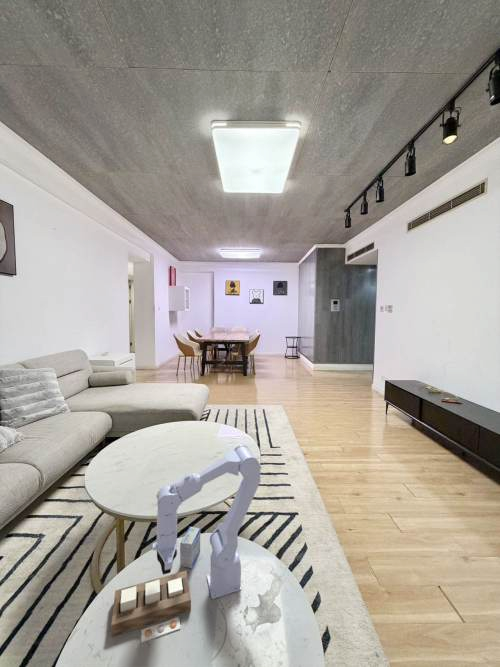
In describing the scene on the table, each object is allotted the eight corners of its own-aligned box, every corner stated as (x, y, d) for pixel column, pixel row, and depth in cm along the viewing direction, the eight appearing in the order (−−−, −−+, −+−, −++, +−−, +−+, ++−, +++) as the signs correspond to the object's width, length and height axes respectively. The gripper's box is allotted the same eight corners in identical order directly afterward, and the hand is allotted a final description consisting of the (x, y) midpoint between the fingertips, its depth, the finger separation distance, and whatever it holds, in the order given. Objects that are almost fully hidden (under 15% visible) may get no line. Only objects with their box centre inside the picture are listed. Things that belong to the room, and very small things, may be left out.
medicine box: (191, 569, 96) (192, 545, 96) (179, 566, 97) (179, 542, 97) (200, 550, 104) (200, 528, 103) (189, 548, 105) (189, 525, 104)
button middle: (159, 589, 86) (159, 579, 86) (160, 601, 83) (160, 591, 82) (145, 593, 85) (145, 583, 85) (145, 606, 81) (145, 596, 81)
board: (186, 580, 92) (186, 570, 92) (190, 610, 83) (191, 599, 83) (115, 601, 85) (115, 590, 85) (111, 637, 76) (111, 625, 75)
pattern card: (179, 618, 81) (179, 616, 81) (180, 629, 78) (180, 627, 78) (141, 630, 77) (141, 629, 77) (141, 642, 74) (141, 641, 74)
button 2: (181, 587, 89) (181, 577, 88) (182, 599, 85) (182, 589, 85) (167, 591, 87) (167, 581, 87) (168, 603, 84) (168, 593, 83)
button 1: (136, 596, 84) (136, 586, 84) (136, 609, 80) (136, 598, 80) (121, 600, 83) (121, 590, 82) (120, 614, 79) (120, 603, 79)
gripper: (152, 514, 89) (151, 555, 90) (153, 551, 76) (152, 599, 76) (175, 510, 92) (174, 549, 92) (180, 544, 78) (179, 591, 79)
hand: (166, 571), depth 85 cm, fingers closed
